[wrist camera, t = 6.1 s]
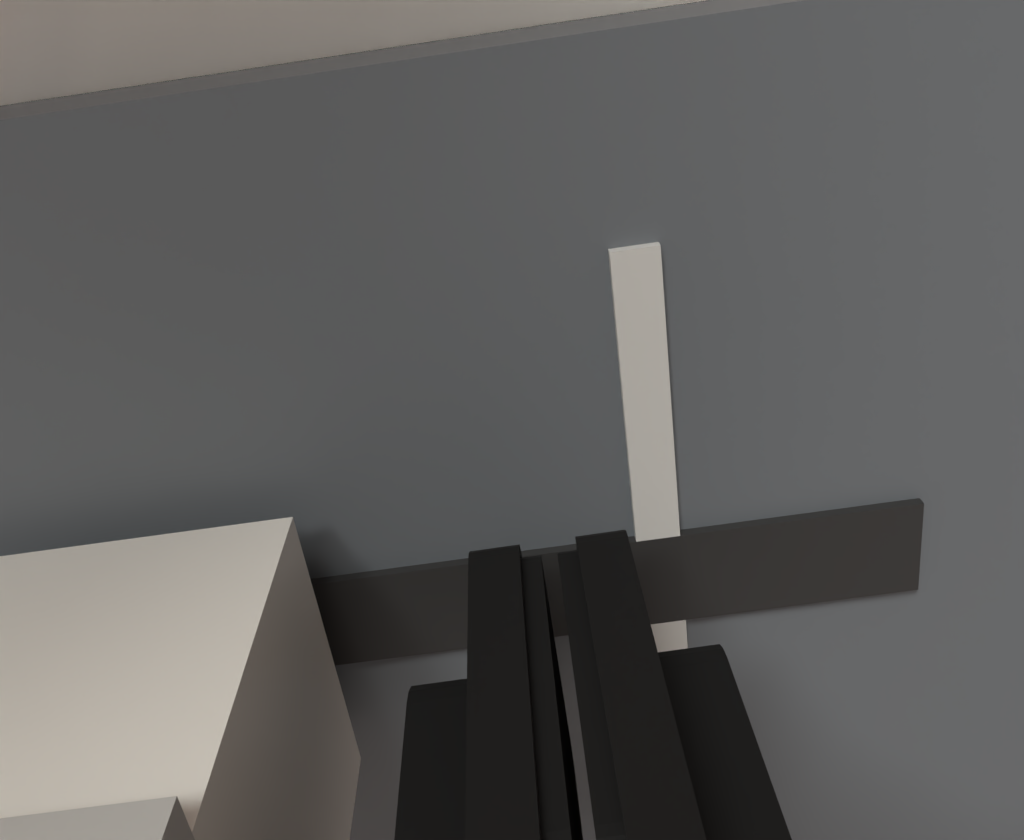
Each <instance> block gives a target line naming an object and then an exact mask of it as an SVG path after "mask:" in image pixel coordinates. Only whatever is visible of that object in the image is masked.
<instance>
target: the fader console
mask: <svg viewBox="0 0 1024 840" xmlns="http://www.w3.org/2000/svg"><path fill="white" fill-rule="evenodd" d="M288 517H293V519H294V523H295V526H296V530H297V533H298V537H299V540H300V544H301V548H302V551H303V555H304V558H305V562H306V565H307V569H308V572H309V576H310V579H311V583H312V587H313V590H314V594H315V597H316V601H317V604H318V608H319V611H320V615H321V618H322V622H323V626H324V629H325V633H326V636H327V640H328V643H329V647H330V650H331V654H332V657H333V661H334V664H335V668H336V672H337V675H338V679H339V682H340V686H341V689H342V693H343V696H344V700H345V703H346V707H347V711H348V714H349V718H350V721H351V725H352V728H353V732H354V735H355V739H356V742H357V746H358V750H359V753H360V757H361V761H360V768H359V776H358V783H357V790H356V797H355V804H354V811H353V818H352V825H351V832H350V840H394V837H395V826H396V815H397V804H398V793H399V782H400V771H401V760H402V749H403V738H404V727H405V716H406V704H407V698H408V692H409V690H410V688H411V686H415V685H423V684H430V683H437V682H445V681H452V680H459V679H467V631H468V556H469V552H470V551H476V550H483V549H491V548H498V547H505V546H512V545H520V549H521V553H522V558H525V557H532V556H539V555H541V557H542V563H543V569H544V575H545V581H546V588H547V594H548V600H549V607H550V613H551V619H552V626H553V632H554V638H555V645H556V651H557V657H558V664H559V670H560V676H561V683H562V689H563V695H564V702H565V708H566V714H567V721H568V727H569V733H570V740H571V746H572V753H573V761H574V768H575V776H576V784H577V792H578V800H579V809H580V817H581V825H582V833H583V840H596V836H595V828H594V821H593V814H592V806H591V799H590V792H589V784H588V777H587V769H586V762H585V755H584V747H583V740H582V732H581V725H580V718H579V710H578V703H577V696H576V688H575V681H574V673H573V666H572V659H571V651H570V644H569V636H568V629H567V622H566V614H565V607H564V600H563V592H562V585H561V577H560V570H559V563H558V555H557V553H560V552H567V551H574V550H577V548H576V540H575V537H576V536H583V535H590V534H597V533H604V532H611V531H618V530H626V532H627V535H628V539H629V543H630V547H631V550H632V554H633V558H634V562H635V566H636V570H637V574H638V577H639V581H640V585H641V589H642V593H643V597H644V601H645V604H646V608H647V612H648V616H649V620H650V624H651V628H652V632H653V635H654V639H655V643H656V647H657V651H658V652H664V651H672V650H679V649H686V648H694V647H701V646H708V645H716V644H720V645H721V646H722V647H723V649H724V651H725V654H726V656H727V658H728V661H729V664H730V667H731V669H732V672H733V675H734V678H735V681H736V683H737V686H738V689H739V692H740V695H741V698H742V700H743V703H744V706H745V709H746V712H747V714H748V717H749V720H750V723H751V726H752V729H753V731H754V734H755V737H756V740H757V743H758V746H759V748H760V751H761V754H762V757H763V760H764V762H765V765H766V768H767V771H768V774H769V777H770V779H771V782H772V785H773V788H774V791H775V793H776V796H777V799H778V802H779V805H780V808H781V810H782V813H783V816H784V819H785V822H786V824H787V827H788V830H789V833H790V836H791V839H792V840H1024V0H707V1H701V2H694V3H687V4H681V5H674V6H667V7H660V8H654V9H647V10H640V11H634V12H627V13H620V14H614V15H607V16H600V17H594V18H587V19H580V20H573V21H567V22H560V23H553V24H547V25H540V26H533V27H527V28H520V29H513V30H506V31H500V32H493V33H486V34H480V35H473V36H466V37H460V38H453V39H446V40H439V41H433V42H426V43H419V44H413V45H406V46H399V47H393V48H386V49H379V50H373V51H366V52H359V53H352V54H346V55H339V56H332V57H326V58H319V59H312V60H306V61H299V62H292V63H285V64H279V65H272V66H265V67H259V68H252V69H245V70H239V71H232V72H225V73H218V74H212V75H205V76H198V77H192V78H185V79H178V80H172V81H165V82H158V83H152V84H145V85H138V86H131V87H125V88H118V89H111V90H105V91H98V92H91V93H85V94H78V95H71V96H64V97H58V98H51V99H44V100H38V101H31V102H24V103H18V104H11V105H4V106H0V556H6V555H14V554H21V553H28V552H36V551H43V550H51V549H58V548H65V547H73V546H80V545H88V544H95V543H102V542H110V541H117V540H125V539H132V538H139V537H147V536H154V535H162V534H169V533H177V532H184V531H191V530H199V529H206V528H214V527H221V526H228V525H236V524H243V523H251V522H258V521H265V520H273V519H280V518H288Z"/></svg>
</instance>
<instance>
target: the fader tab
mask: <svg viewBox="0 0 1024 840" xmlns="http://www.w3.org/2000/svg"><path fill="white" fill-rule="evenodd" d="M360 761H361V757H360V753H359V750H358V746H357V742H356V739H355V735H354V732H353V728H352V725H351V721H350V718H349V714H348V711H347V707H346V703H345V700H344V696H343V693H342V689H341V686H340V682H339V679H338V675H337V672H336V668H335V664H334V661H333V657H332V654H331V650H330V647H329V643H328V640H327V636H326V633H325V629H324V626H323V622H322V618H321V615H320V611H319V608H318V604H317V601H316V597H315V594H314V590H313V587H312V583H311V579H310V576H309V572H308V569H307V565H306V562H305V558H304V555H303V551H302V548H301V544H300V540H299V537H298V533H297V530H296V526H295V523H294V519H293V517H288V518H280V519H273V520H265V521H258V522H251V523H243V524H236V525H228V526H221V527H214V528H206V529H199V530H191V531H184V532H177V533H169V534H162V535H154V536H147V537H139V538H132V539H125V540H117V541H110V542H102V543H95V544H88V545H80V546H73V547H65V548H58V549H51V550H43V551H36V552H28V553H21V554H14V555H6V556H0V840H350V832H351V825H352V818H353V811H354V804H355V797H356V790H357V783H358V776H359V768H360Z"/></svg>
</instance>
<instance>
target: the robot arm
mask: <svg viewBox="0 0 1024 840" xmlns="http://www.w3.org/2000/svg"><path fill="white" fill-rule="evenodd" d="M575 540H576V548H577V550H574V551H567V552H560V553H557V555H558V563H559V570H560V577H561V585H562V592H563V600H564V607H565V614H566V622H567V629H568V636H569V644H570V651H571V659H572V666H573V673H574V681H575V688H576V696H577V703H578V710H579V718H580V725H581V732H582V740H583V747H584V755H585V762H586V769H587V777H588V784H589V792H590V799H591V806H592V814H593V821H594V828H595V836H596V840H792V839H791V836H790V833H789V830H788V827H787V824H786V822H785V819H784V816H783V813H782V810H781V808H780V805H779V802H778V799H777V796H776V793H775V791H774V788H773V785H772V782H771V779H770V777H769V774H768V771H767V768H766V765H765V762H764V760H763V757H762V754H761V751H760V748H759V746H758V743H757V740H756V737H755V734H754V731H753V729H752V726H751V723H750V720H749V717H748V714H747V712H746V709H745V706H744V703H743V700H742V698H741V695H740V692H739V689H738V686H737V683H736V681H735V678H734V675H733V672H732V669H731V667H730V664H729V661H728V658H727V656H726V654H725V651H724V649H723V647H722V646H721V645H720V644H716V645H708V646H701V647H694V648H686V649H679V650H672V651H664V652H658V651H657V647H656V643H655V639H654V635H653V632H652V628H651V624H650V620H649V616H648V612H647V608H646V604H645V601H644V597H643V593H642V589H641V585H640V581H639V577H638V574H637V570H636V566H635V562H634V558H633V554H632V550H631V547H630V543H629V539H628V535H627V532H626V530H618V531H611V532H604V533H597V534H590V535H583V536H576V537H575ZM394 840H583V833H582V825H581V817H580V809H579V800H578V792H577V784H576V776H575V768H574V761H573V753H572V746H571V740H570V733H569V727H568V721H567V714H566V708H565V702H564V695H563V689H562V683H561V676H560V670H559V664H558V657H557V651H556V645H555V638H554V632H553V626H552V619H551V613H550V607H549V600H548V594H547V588H546V581H545V575H544V569H543V563H542V557H541V555H539V556H532V557H525V558H522V553H521V549H520V545H512V546H505V547H498V548H491V549H483V550H476V551H470V552H469V556H468V631H467V679H459V680H452V681H445V682H437V683H430V684H423V685H415V686H411V688H410V690H409V692H408V698H407V704H406V716H405V727H404V738H403V749H402V760H401V771H400V782H399V793H398V804H397V815H396V826H395V837H394Z"/></svg>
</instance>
